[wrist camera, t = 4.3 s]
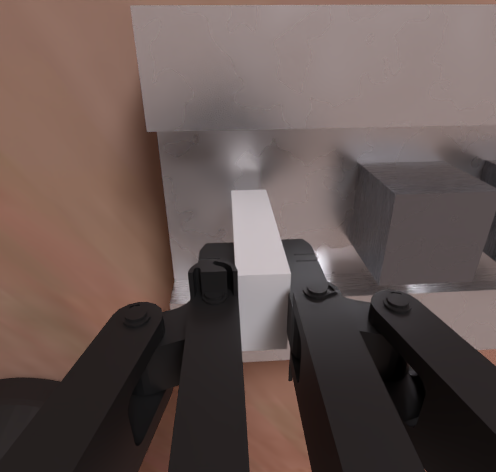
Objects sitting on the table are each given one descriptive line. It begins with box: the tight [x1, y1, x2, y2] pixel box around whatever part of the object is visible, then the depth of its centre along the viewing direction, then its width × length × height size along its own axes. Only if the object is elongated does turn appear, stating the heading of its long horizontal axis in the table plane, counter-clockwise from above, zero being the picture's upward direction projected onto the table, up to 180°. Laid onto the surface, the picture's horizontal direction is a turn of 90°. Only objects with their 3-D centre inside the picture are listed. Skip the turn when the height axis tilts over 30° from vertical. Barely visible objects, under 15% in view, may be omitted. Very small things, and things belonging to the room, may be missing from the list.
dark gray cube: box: [349, 161, 496, 286], centre depth 16 cm, size 4×4×4 cm
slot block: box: [130, 4, 496, 362], centre depth 19 cm, size 16×22×6 cm
